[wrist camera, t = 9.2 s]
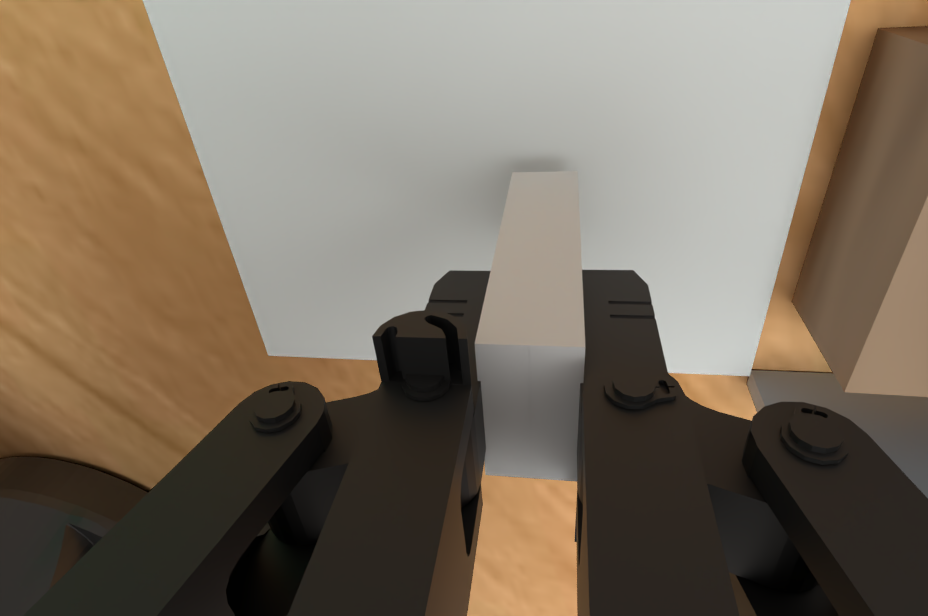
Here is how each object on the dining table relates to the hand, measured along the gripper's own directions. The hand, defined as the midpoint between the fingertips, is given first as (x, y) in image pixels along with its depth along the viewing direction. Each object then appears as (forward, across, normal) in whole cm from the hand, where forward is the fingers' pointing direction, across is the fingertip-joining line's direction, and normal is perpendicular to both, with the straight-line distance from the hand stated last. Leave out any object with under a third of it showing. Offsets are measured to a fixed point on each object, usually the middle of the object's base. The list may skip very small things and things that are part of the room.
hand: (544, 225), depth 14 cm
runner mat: (+2, -2, 0) cm, 3 cm away
